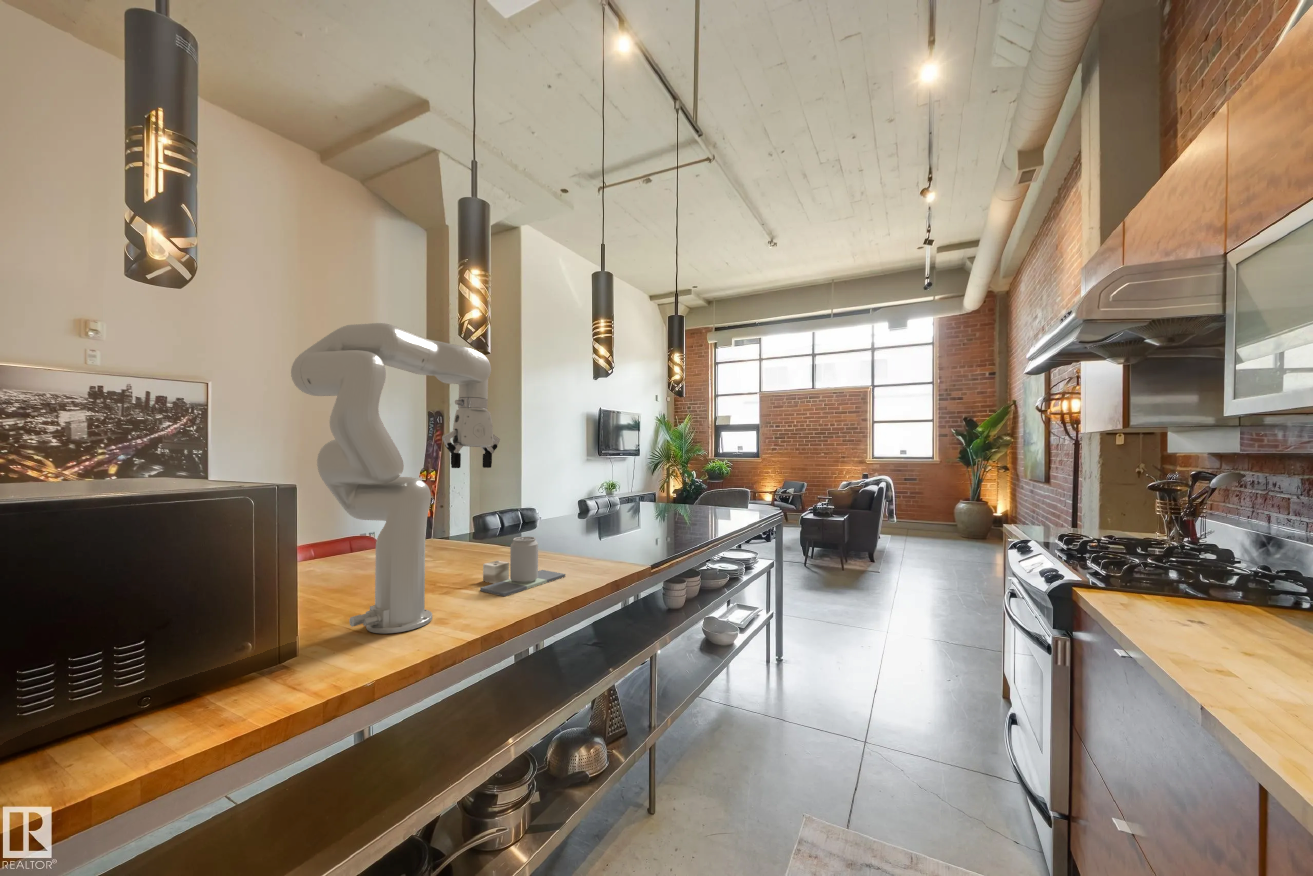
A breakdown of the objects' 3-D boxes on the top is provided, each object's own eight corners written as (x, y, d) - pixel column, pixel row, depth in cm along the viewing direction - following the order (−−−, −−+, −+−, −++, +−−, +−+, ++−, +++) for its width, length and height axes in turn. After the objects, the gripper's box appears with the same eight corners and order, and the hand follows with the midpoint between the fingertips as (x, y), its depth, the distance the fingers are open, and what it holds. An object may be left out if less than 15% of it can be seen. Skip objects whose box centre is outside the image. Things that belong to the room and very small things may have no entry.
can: (533, 584, 131) (533, 540, 131) (506, 584, 131) (506, 540, 131) (541, 577, 138) (541, 535, 139) (515, 577, 139) (515, 535, 139)
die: (494, 584, 135) (494, 566, 135) (483, 581, 137) (483, 563, 138) (508, 580, 139) (508, 562, 139) (497, 577, 142) (497, 560, 142)
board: (504, 596, 123) (504, 593, 123) (480, 590, 128) (480, 587, 128) (565, 576, 142) (565, 574, 142) (542, 572, 147) (542, 569, 147)
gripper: (452, 401, 123) (451, 468, 122) (507, 407, 138) (506, 467, 137) (435, 403, 127) (434, 468, 127) (491, 409, 142) (490, 467, 141)
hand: (471, 467), depth 132 cm, fingers open, 9 cm apart
